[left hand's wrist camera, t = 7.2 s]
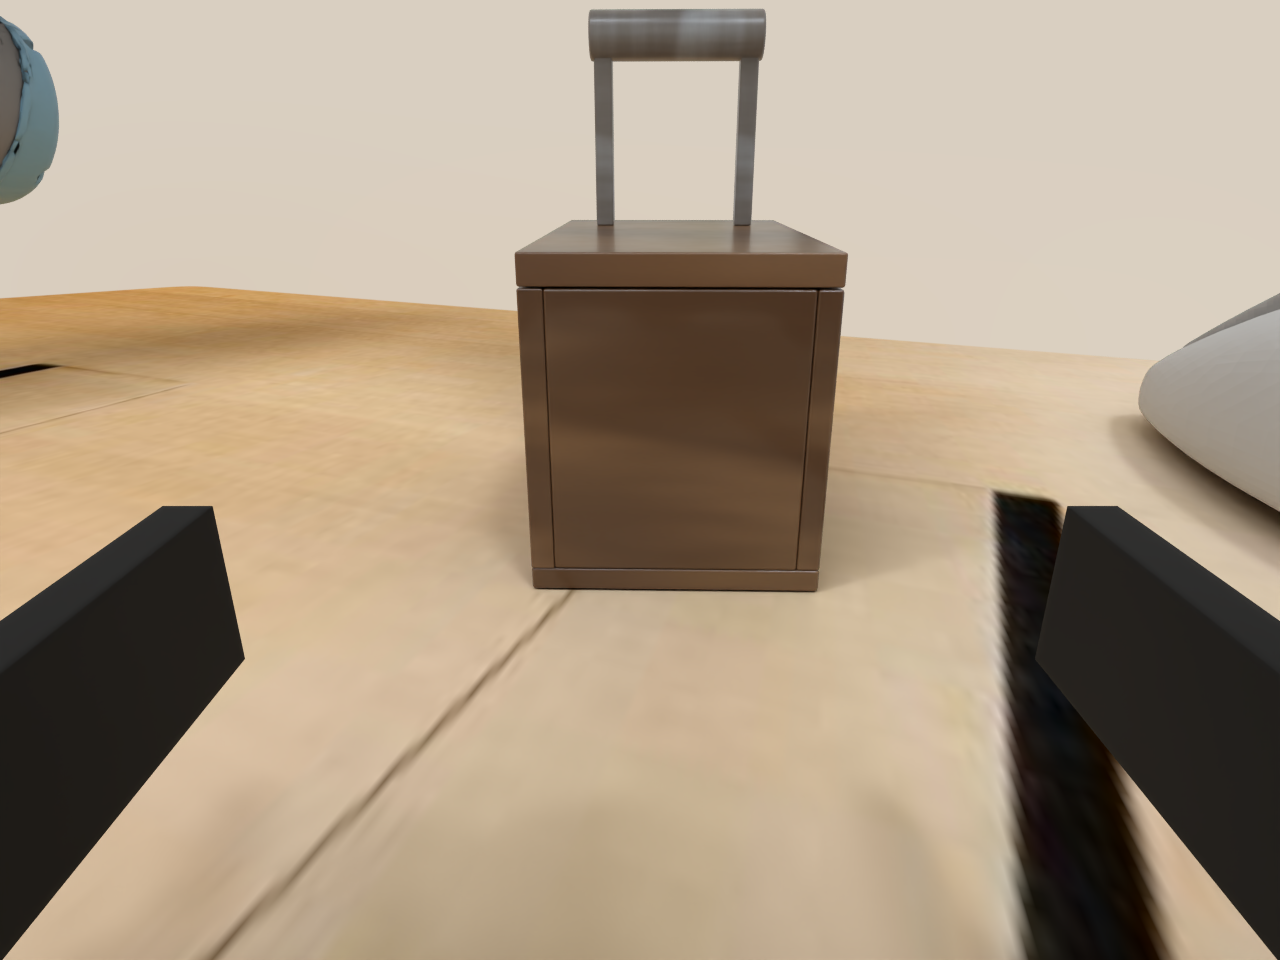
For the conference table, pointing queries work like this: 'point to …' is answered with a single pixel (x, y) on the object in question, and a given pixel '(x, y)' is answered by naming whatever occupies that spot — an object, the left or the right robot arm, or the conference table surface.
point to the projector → (1225, 400)
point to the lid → (678, 245)
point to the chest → (678, 434)
